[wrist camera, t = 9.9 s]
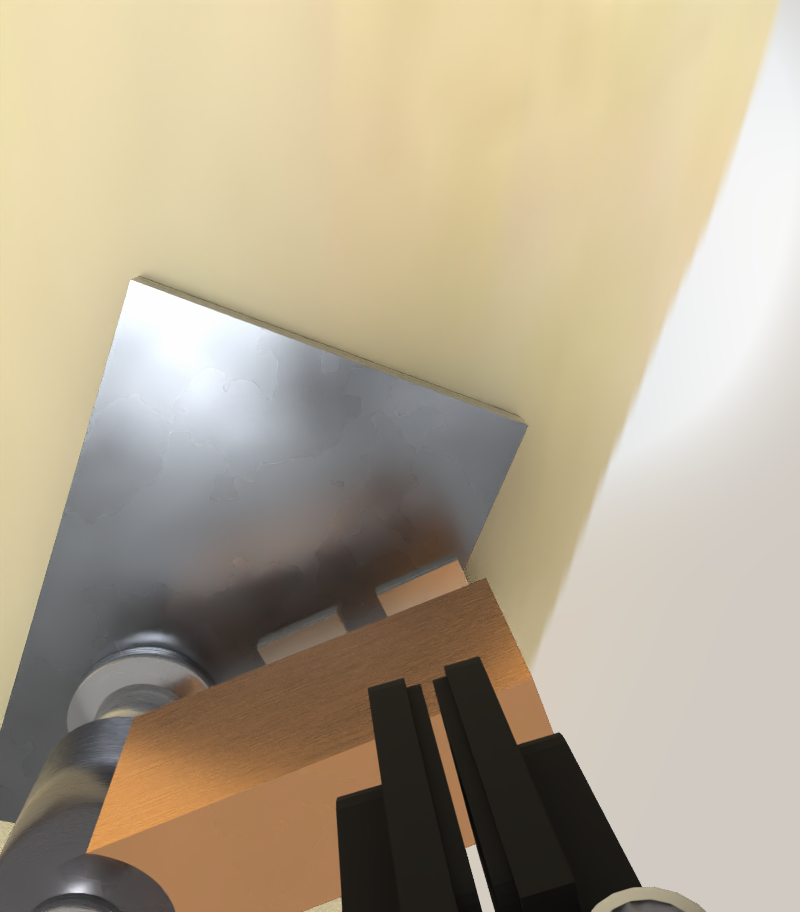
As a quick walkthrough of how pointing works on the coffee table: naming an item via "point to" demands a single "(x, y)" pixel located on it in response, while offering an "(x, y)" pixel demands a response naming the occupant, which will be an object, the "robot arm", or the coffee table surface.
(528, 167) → the coffee table surface
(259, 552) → the post base
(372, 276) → the coffee table surface
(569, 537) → the coffee table surface
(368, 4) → the coffee table surface
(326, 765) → the orange boxy piece
